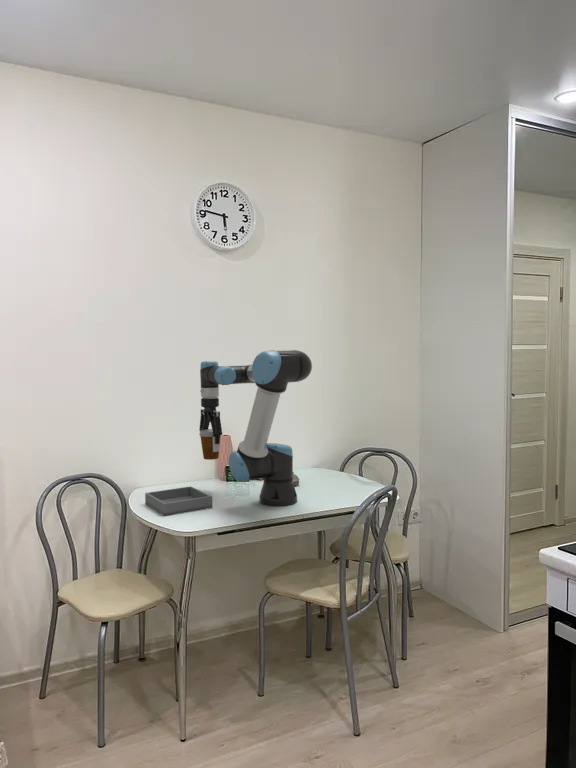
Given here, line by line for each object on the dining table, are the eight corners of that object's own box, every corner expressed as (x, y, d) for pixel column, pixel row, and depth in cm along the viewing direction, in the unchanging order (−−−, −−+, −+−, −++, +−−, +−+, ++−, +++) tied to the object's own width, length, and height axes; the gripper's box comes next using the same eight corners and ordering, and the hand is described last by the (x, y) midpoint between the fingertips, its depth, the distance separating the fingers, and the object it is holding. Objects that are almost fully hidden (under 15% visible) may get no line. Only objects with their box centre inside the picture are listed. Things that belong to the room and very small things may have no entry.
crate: (212, 507, 237) (212, 496, 237) (164, 515, 226) (164, 503, 226) (191, 497, 253) (190, 486, 253) (145, 504, 242) (145, 492, 242)
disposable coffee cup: (204, 461, 255) (204, 432, 254) (196, 457, 264) (195, 430, 263) (225, 459, 260) (225, 430, 259) (217, 455, 268) (216, 428, 267)
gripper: (190, 396, 267) (191, 447, 269) (213, 399, 249) (214, 454, 250) (206, 395, 271) (207, 445, 273) (230, 398, 253) (230, 452, 254)
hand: (210, 449), depth 261 cm, fingers closed on disposable coffee cup, 9 cm apart
